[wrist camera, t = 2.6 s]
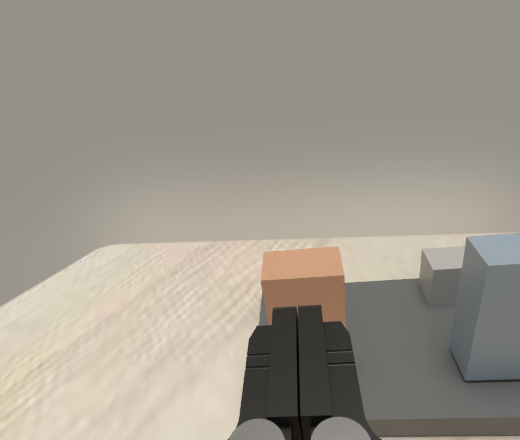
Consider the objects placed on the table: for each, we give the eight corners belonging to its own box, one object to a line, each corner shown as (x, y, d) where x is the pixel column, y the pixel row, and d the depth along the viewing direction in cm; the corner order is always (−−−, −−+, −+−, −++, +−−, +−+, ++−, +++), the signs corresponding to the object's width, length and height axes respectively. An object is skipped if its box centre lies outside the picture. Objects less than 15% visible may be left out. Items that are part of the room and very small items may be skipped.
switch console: (254, 437, 27) (240, 384, 24) (265, 302, 39) (257, 256, 36) (590, 434, 24) (622, 373, 21) (490, 290, 36) (501, 238, 33)
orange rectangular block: (279, 385, 28) (260, 280, 23) (280, 353, 30) (263, 252, 25) (348, 383, 27) (344, 275, 22) (342, 350, 30) (338, 246, 25)
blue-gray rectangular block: (465, 380, 26) (488, 265, 21) (449, 346, 29) (466, 236, 24) (543, 378, 25) (586, 259, 20) (519, 343, 28) (552, 230, 23)
